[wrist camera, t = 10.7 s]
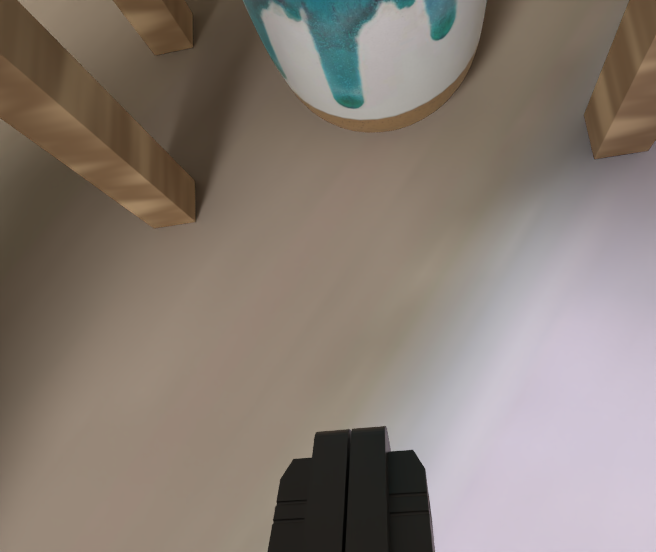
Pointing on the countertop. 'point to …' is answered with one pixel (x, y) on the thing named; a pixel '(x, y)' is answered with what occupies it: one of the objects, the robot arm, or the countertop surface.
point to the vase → (370, 55)
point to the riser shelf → (177, 34)
